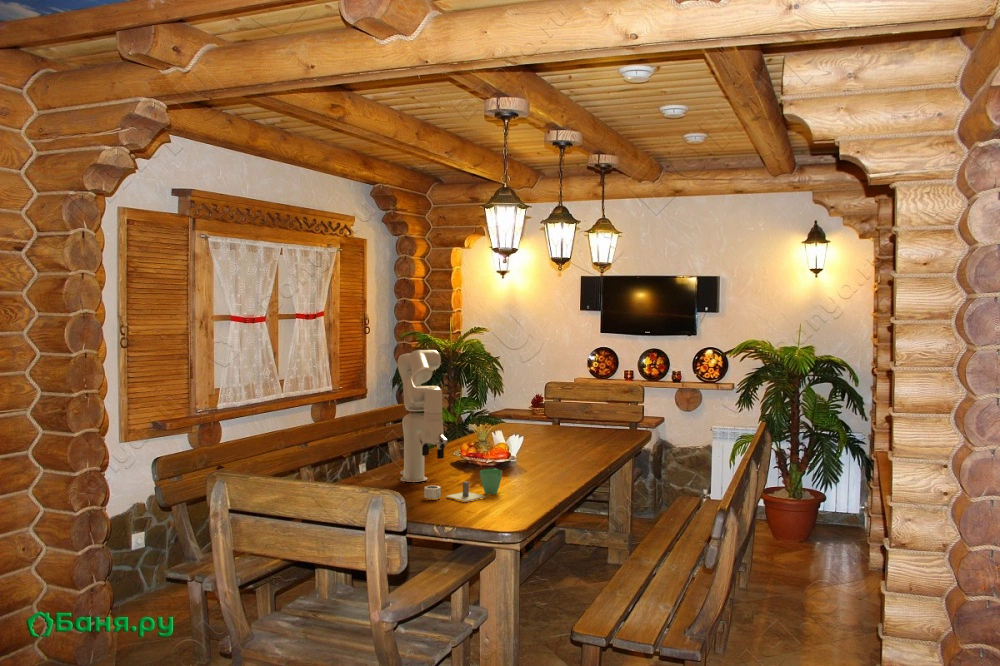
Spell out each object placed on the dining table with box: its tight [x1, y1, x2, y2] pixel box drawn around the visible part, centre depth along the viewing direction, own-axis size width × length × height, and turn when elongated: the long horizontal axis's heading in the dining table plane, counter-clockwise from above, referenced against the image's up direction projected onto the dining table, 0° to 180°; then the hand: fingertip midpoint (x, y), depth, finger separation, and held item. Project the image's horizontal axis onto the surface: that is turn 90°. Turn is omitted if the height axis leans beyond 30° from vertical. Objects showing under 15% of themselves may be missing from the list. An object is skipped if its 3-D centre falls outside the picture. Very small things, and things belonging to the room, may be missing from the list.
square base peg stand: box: [445, 481, 486, 502], centre depth 354 cm, size 12×12×7 cm
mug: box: [479, 468, 503, 495], centre depth 365 cm, size 15×10×10 cm
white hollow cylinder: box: [423, 484, 442, 499], centre depth 352 cm, size 7×7×5 cm
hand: (432, 456), depth 351 cm, fingers open, 9 cm apart
